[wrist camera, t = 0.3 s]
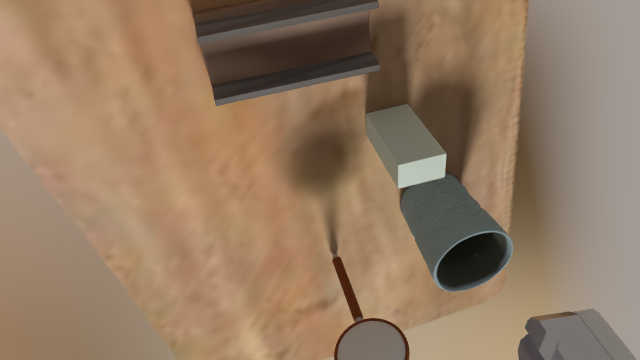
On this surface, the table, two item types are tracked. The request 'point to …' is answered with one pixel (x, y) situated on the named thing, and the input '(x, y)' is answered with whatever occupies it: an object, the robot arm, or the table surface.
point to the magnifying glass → (367, 331)
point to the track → (283, 45)
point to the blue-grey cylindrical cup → (455, 234)
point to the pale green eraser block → (405, 146)
